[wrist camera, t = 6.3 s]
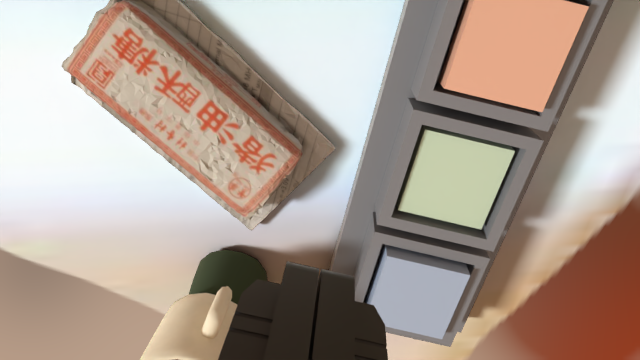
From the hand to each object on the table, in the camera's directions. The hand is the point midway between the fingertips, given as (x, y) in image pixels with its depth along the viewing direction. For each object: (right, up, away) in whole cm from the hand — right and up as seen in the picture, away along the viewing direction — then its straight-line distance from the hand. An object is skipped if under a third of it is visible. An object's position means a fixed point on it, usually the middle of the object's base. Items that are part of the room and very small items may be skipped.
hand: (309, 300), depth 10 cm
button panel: (+9, +4, +25) cm, 27 cm away
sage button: (+9, +3, +22) cm, 24 cm away
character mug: (-7, -6, +30) cm, 32 cm away
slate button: (+7, -5, +25) cm, 26 cm away
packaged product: (-8, +8, +25) cm, 28 cm away
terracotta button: (+11, +11, +17) cm, 23 cm away
